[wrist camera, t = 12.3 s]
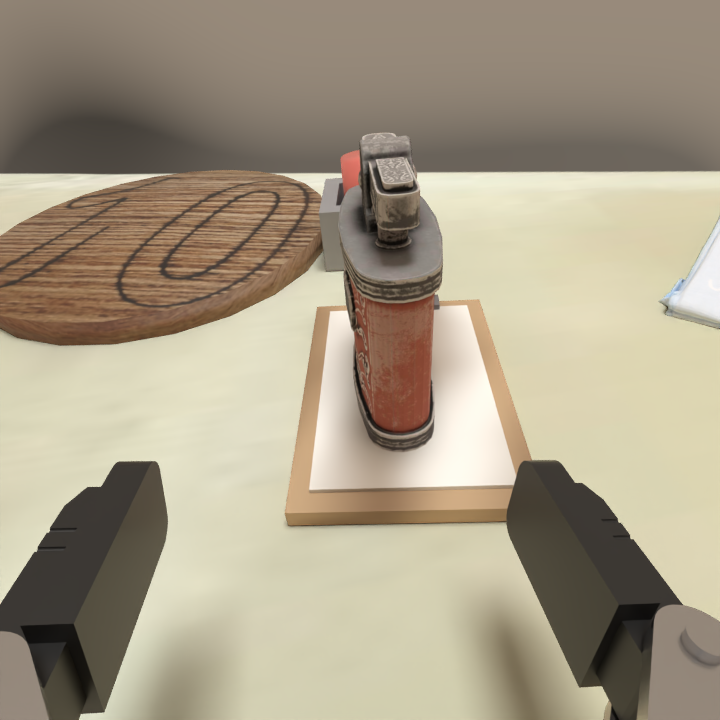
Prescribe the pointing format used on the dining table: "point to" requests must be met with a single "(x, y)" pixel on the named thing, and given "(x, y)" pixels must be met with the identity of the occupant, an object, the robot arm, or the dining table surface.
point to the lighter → (391, 293)
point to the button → (350, 170)
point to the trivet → (156, 256)
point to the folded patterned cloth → (699, 287)
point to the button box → (331, 223)
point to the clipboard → (417, 467)
